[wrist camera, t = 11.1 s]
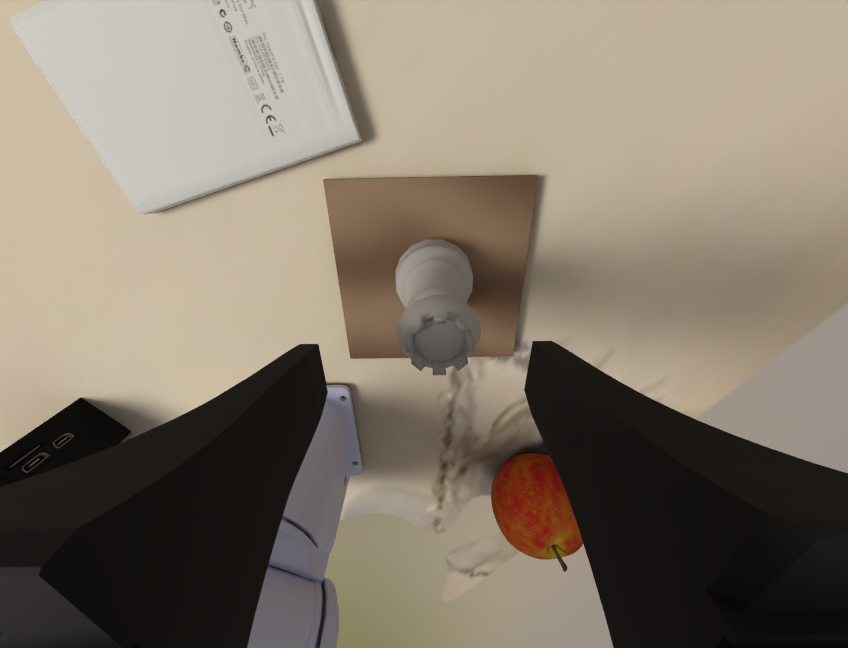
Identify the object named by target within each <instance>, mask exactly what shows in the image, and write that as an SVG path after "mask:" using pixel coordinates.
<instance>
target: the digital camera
mask: <svg viewBox="0 0 848 648" xmlns="http://www.w3.org/2000/svg"><path fill="white" fill-rule="evenodd" d="M129 434H130V430H129V429H127V428H126V427H124V426H123V425H121V424H120V423H118V422H117V421H115V420H114V419H112V418H111V417H109V416H108V415H106V414H105V413H103V412H102V411H100V410H99V409H97V408H96V407H94V406H93V405H91V404H90V403H88V402H87V401H85V400H84V399H82V398H79V399H78V400H77V401H75V402H74V403H72V404H71V405H69V406H68V407H66V408H65V409H63V410H62V411H60V412H59V413H57V414H56V415H55V416H53V417H52V418H50V419H49V420H47V421H46V422H44V423H43V424H41V425H40V426H38V427H37V428H35V429H34V430H33V431H31V432H30V433H28V434H27V435H25V436H24V437H22V438H21V439H19V440H18V441H16V442H15V443H14V444H12V445H11V446H9V447H8V448H6V449H5V450H3V451H2V452H0V487H2V486H5V485H8V484H11V483H14V482H17V481H20V480H23V479H26V478H29V477H32V476H35V475H38V474H41V473H44V472H47V471H50V470H52V469H55V468H58V467H61V466H63V465H66V464H69V463H71V462H74V461H77V460H79V459H82V458H85V457H87V456H90V455H93V454H95V453H98V452H100V451H103V450H105V449H108V448H110V447H113V446H115V445H117V444H119V443H120V442H121V441H122V440H123V439H125V438H126V437H127V436H128V435H129Z"/></svg>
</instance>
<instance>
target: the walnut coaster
mask: <svg viewBox="0 0 848 648" xmlns="http://www.w3.org/2000/svg"><path fill="white" fill-rule="evenodd" d="M537 181H538V175H516V176H464V177H411V178H359V179H324V180H323V182H324V188H325V195H326V201H327V208H328V214H329V221H330V227H331V234H332V240H333V247H334V254H335V260H336V267H337V273H338V280H339V286H340V293H341V299H342V306H343V312H344V319H345V325H346V332H347V338H348V345H349V351H350V358H351V359H357V358H409V357H408V356H406V355H405V354H404V352H403V350H402V348H401V347H400V345H399V343H398V338H397V325H398V323H399V321H400V318H401V316H402V313H403V312H404V311H405V310H406V307H405V306H404V305H403V304H402V302H401V300H400V298H399V296H398V294H397V292H396V279H395V276H396V273H395V271H396V268H397V265H398V263H399V260H400V257H401V256H402V255H403V254H404V253H405V252H406V251H407V250H408V249H409V248H410V247H411V246H412V245H415V244H417V243H419V242H422V241H424V240H437V239H442V240H445V241H447V242H449V243H452V244H454V245H457V246H458V247H459V248H460V249H461V250H462V252H463V253H464V254H465V255H466V256H467V257H468V260H469V263H470V265H471V268H472V273H473V288H472V292H471V294H470V296H469V298H468V300H467V304H468V305H469V306H470V307H471V308H472V309H473V310H474V311H475V312H476V314H477V317H478V319H479V322H480V324H481V334H480V341H479V343H478V345H477V347H476V348H475V350H474V353H473V354H471V355H470V356H469V357H485V356H513V352H514V345H515V338H516V331H517V324H518V316H519V309H520V302H521V295H522V288H523V281H524V274H525V266H526V259H527V252H528V245H529V238H530V231H531V223H532V216H533V209H534V202H535V195H536V188H537Z"/></svg>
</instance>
